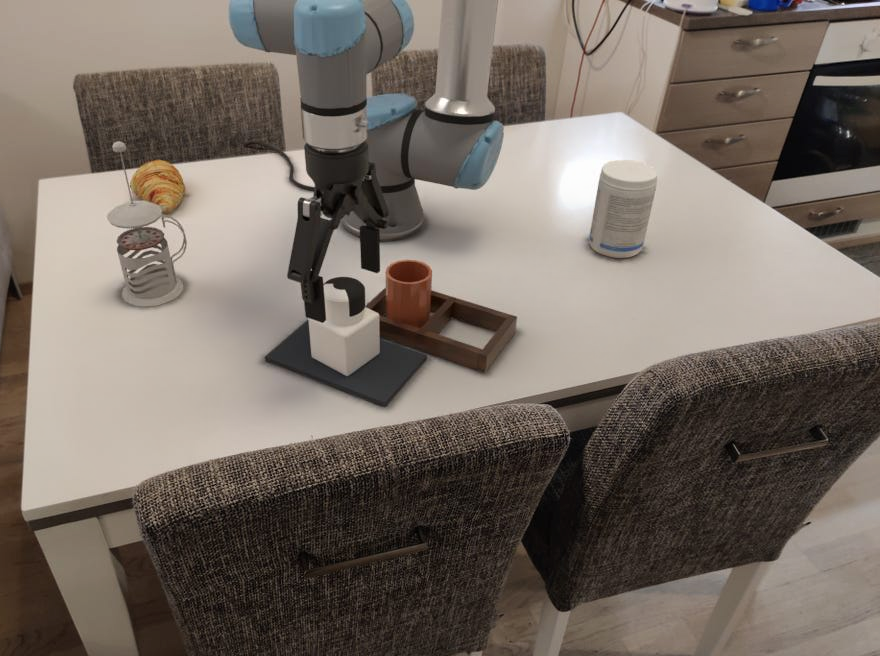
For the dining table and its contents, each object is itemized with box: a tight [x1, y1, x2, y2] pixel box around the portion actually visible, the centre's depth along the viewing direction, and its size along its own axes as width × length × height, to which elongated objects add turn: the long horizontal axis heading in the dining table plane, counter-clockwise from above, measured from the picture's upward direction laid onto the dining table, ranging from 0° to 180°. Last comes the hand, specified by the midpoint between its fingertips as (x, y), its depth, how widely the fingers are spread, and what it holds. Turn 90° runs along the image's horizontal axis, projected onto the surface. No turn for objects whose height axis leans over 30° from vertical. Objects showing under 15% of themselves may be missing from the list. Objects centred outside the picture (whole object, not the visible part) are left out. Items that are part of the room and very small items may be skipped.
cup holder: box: [365, 286, 518, 373], centre depth 110 cm, size 21×11×3 cm, turn 61°
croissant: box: [129, 158, 186, 213], centre depth 145 cm, size 21×10×8 cm, turn 26°
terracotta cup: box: [385, 259, 433, 328], centre depth 110 cm, size 7×7×9 cm
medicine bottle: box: [307, 276, 381, 376], centre depth 100 cm, size 7×7×12 cm
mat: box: [264, 319, 428, 408], centre depth 104 cm, size 20×12×1 cm, turn 61°
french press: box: [106, 140, 188, 308], centre depth 111 cm, size 10×12×25 cm
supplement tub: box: [588, 159, 659, 259], centre depth 127 cm, size 10×10×15 cm
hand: (344, 293), depth 98 cm, fingers open, 13 cm apart
